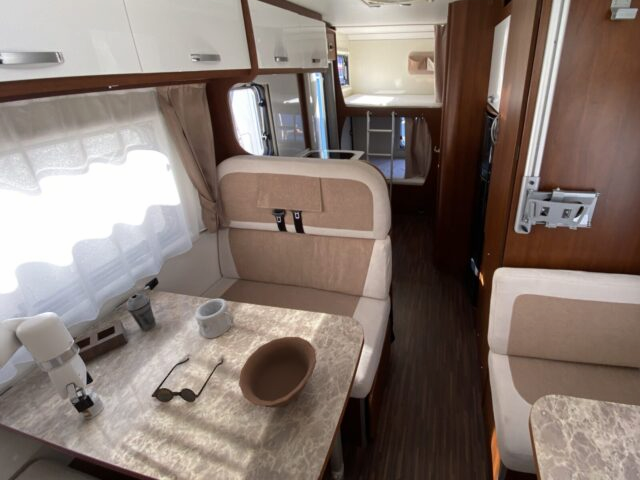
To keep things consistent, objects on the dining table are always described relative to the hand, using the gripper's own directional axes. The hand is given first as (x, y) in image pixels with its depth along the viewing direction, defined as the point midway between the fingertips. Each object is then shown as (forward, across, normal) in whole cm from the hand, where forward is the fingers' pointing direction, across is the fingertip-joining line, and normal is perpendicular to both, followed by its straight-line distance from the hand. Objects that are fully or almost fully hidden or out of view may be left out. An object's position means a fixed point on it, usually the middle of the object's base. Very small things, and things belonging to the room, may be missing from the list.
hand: (86, 396), depth 87 cm
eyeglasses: (+7, +10, +24) cm, 27 cm away
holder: (+7, -29, +2) cm, 30 cm away
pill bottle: (+7, 0, 0) cm, 7 cm away
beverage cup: (+7, -28, +16) cm, 33 cm away
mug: (+7, -6, +37) cm, 38 cm away
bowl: (+8, +35, +44) cm, 56 cm away
